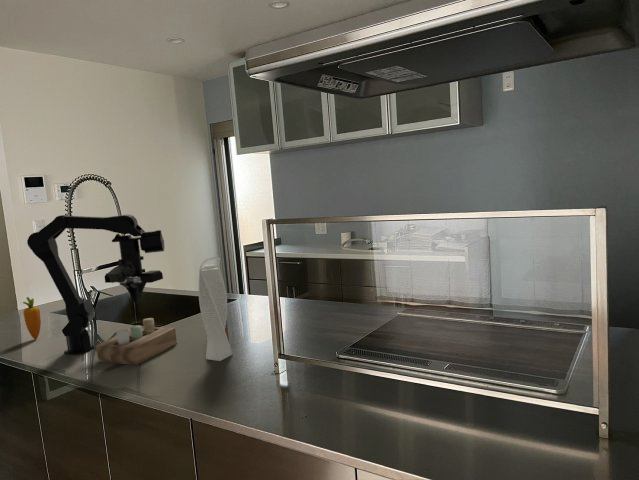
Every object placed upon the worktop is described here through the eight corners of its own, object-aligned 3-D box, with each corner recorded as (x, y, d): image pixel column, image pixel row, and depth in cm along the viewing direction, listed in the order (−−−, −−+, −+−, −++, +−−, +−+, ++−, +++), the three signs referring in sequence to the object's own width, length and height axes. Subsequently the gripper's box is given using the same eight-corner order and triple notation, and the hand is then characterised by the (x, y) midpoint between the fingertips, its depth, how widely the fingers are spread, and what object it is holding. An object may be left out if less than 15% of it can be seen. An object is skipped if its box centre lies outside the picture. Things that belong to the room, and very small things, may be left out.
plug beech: (142, 339, 156) (140, 320, 155) (149, 336, 159) (147, 317, 158) (151, 340, 155) (148, 321, 154) (158, 336, 158) (155, 318, 157)
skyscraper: (219, 350, 148) (209, 256, 144) (239, 353, 144) (229, 256, 141) (200, 359, 141) (189, 261, 138) (220, 363, 137) (209, 262, 134)
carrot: (42, 339, 174) (36, 297, 172) (26, 342, 172) (19, 299, 171) (44, 336, 179) (38, 294, 177) (28, 338, 177) (22, 297, 175)
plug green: (130, 347, 151) (127, 328, 150) (137, 344, 154) (135, 325, 153) (138, 348, 150) (136, 328, 149) (146, 344, 153) (143, 325, 152)
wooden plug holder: (98, 361, 147) (96, 345, 146) (141, 341, 163) (139, 326, 162) (136, 364, 141) (134, 347, 141) (176, 343, 158) (175, 328, 157)
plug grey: (116, 352, 146) (113, 331, 145) (124, 348, 149) (122, 328, 148) (125, 352, 145) (122, 332, 144) (133, 348, 148) (130, 328, 147)
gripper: (87, 259, 154) (94, 309, 156) (135, 258, 147) (142, 310, 149) (114, 253, 165) (121, 300, 167) (161, 252, 158) (166, 301, 159)
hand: (136, 303), depth 160 cm, fingers closed
